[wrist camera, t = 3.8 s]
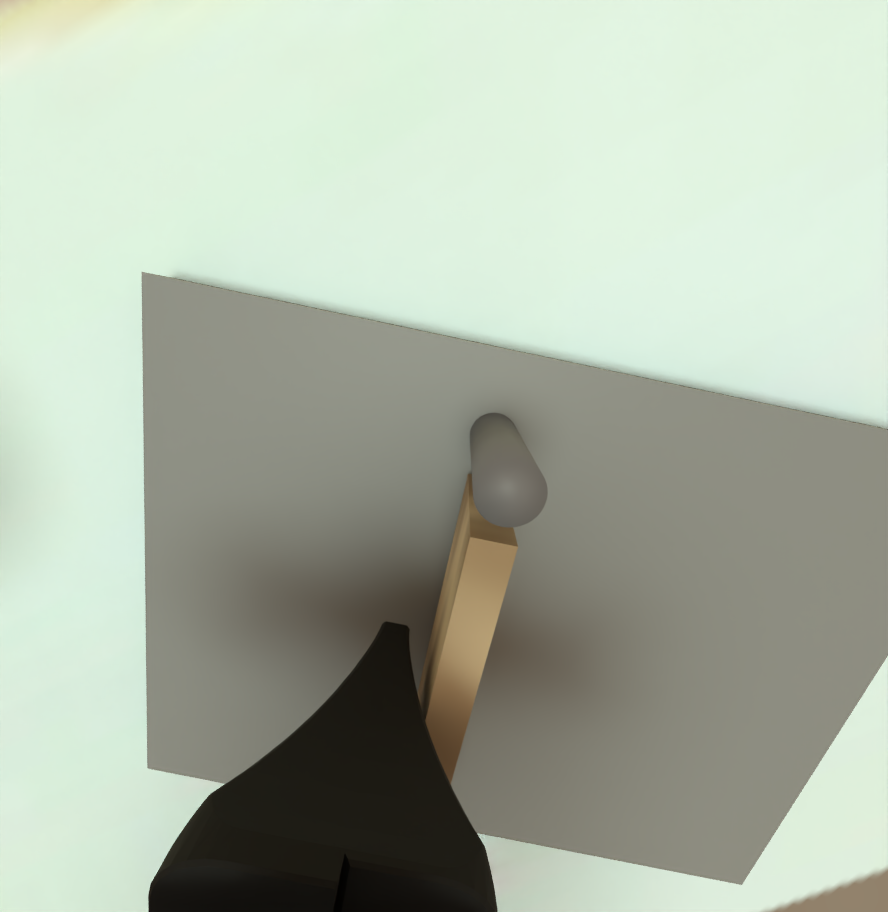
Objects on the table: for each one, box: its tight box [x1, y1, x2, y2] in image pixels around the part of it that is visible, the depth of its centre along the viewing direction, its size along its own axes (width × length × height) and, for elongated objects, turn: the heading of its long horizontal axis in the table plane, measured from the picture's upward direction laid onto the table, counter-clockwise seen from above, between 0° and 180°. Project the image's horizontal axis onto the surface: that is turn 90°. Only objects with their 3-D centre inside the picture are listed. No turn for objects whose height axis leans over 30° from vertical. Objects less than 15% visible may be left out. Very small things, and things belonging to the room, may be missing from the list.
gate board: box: [142, 272, 888, 885], centre depth 13 cm, size 19×25×6 cm
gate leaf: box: [418, 474, 518, 784], centre depth 12 cm, size 13×1×4 cm, turn 169°
